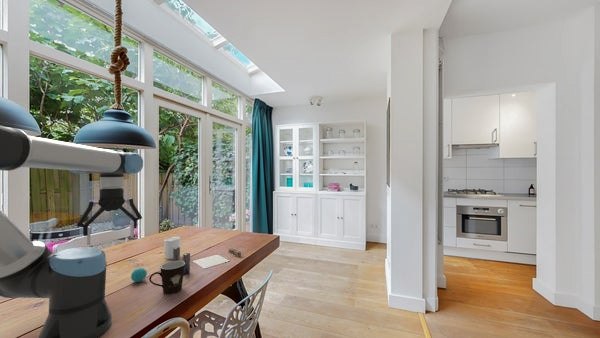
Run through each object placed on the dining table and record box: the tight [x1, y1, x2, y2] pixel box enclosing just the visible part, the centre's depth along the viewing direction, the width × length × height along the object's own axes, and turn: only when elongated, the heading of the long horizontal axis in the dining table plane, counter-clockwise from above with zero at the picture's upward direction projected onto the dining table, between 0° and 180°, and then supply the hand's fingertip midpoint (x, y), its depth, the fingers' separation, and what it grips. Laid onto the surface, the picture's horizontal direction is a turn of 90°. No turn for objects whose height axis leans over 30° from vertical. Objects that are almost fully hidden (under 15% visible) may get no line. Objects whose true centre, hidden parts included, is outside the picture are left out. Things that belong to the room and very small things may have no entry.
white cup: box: [163, 236, 181, 260], centre depth 128 cm, size 8×8×10 cm
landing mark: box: [192, 254, 230, 270], centre depth 121 cm, size 14×14×1 cm
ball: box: [130, 267, 148, 283], centre depth 98 cm, size 6×6×6 cm
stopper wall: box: [228, 248, 242, 258], centre depth 132 cm, size 10×2×2 cm, turn 47°
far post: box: [172, 246, 181, 261], centre depth 115 cm, size 3×3×9 cm
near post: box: [182, 252, 191, 276], centre depth 106 cm, size 3×3×9 cm
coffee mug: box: [148, 260, 185, 295], centre depth 90 cm, size 12×9×10 cm
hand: (111, 240), depth 93 cm, fingers open, 13 cm apart
